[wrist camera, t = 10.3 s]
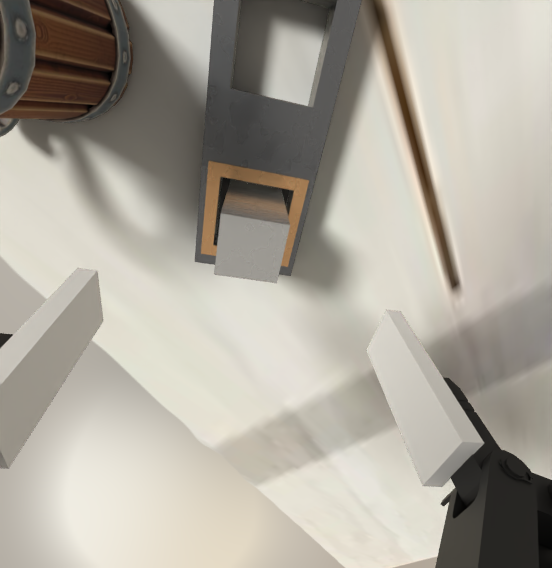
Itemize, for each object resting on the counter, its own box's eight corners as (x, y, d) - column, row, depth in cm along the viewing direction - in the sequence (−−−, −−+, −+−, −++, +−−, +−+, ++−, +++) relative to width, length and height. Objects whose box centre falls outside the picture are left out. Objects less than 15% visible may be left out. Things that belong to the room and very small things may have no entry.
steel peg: (230, 179, 27) (220, 213, 20) (281, 188, 28) (290, 225, 20) (225, 226, 30) (214, 274, 22) (271, 234, 30) (276, 283, 23)
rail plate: (224, -66, 19) (220, -86, 17) (359, -24, 21) (372, -38, 19) (199, 249, 31) (194, 262, 28) (288, 263, 32) (290, 276, 30)
